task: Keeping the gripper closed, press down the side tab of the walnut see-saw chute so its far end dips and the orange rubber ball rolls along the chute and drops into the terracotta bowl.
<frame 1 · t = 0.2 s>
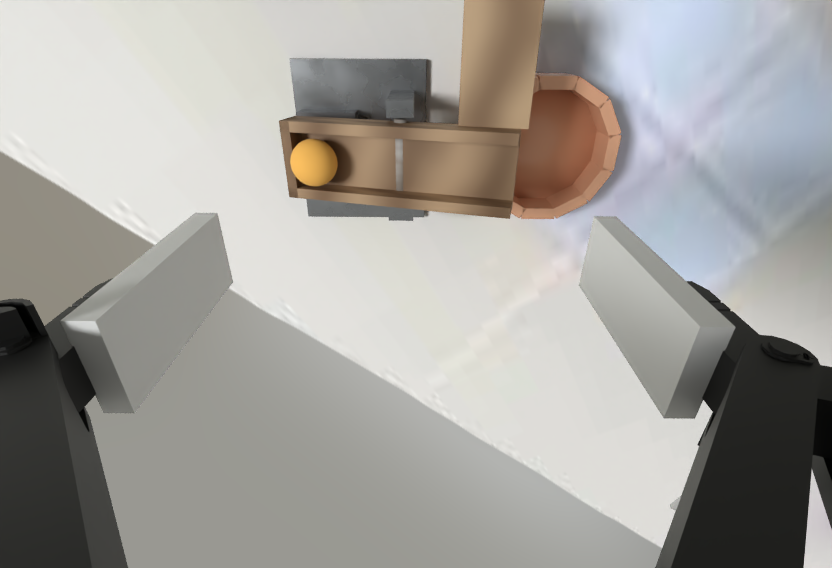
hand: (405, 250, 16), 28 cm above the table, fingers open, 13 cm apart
pivot base: (403, 143, 41), on the table
lever: (402, 102, 32), point 7 cm above the table, hinge at -15.0°, touching ball
terracotta bowl: (537, 144, 41), on the table
ball: (314, 162, 34), point 7 cm above the table, tilted 30°, touching lever
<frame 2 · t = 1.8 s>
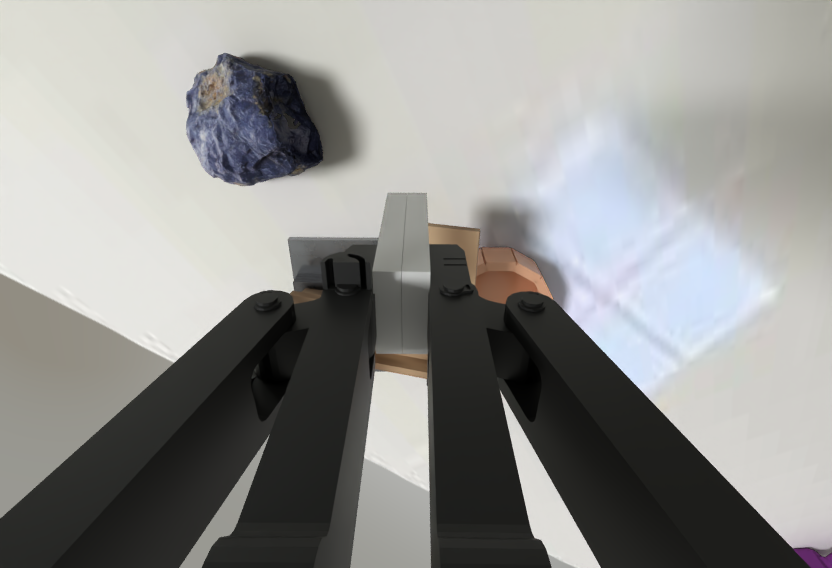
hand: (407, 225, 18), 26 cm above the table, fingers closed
pivot base: (381, 294, 50), on the table
lever: (376, 294, 42), point 7 cm above the table, hinge at -15.0°, touching ball
mug: (809, 551, 76), on the table
terracotta bowl: (490, 295, 50), on the table
rock: (261, 117, 41), on the table
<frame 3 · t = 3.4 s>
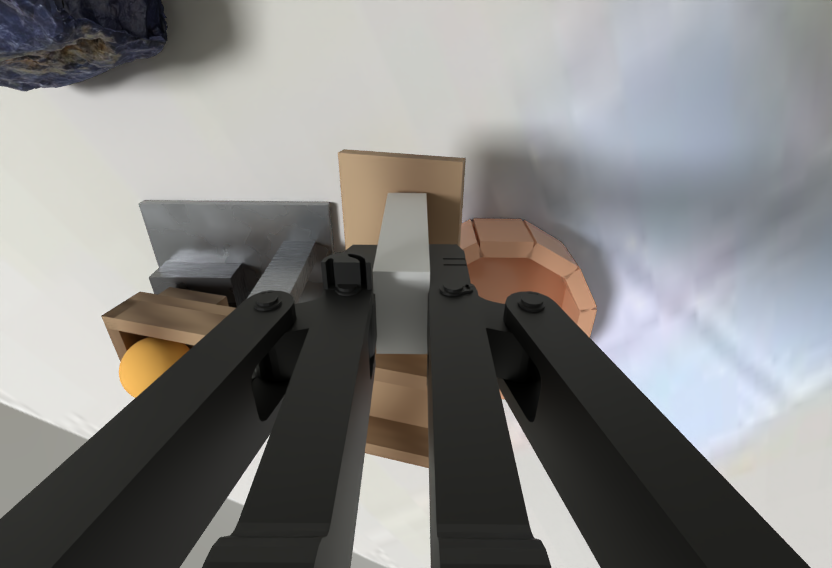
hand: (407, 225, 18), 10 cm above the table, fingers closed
pivot base: (309, 297, 31), on the table
lever: (274, 298, 22), point 7 cm above the table, hinge at -14.8°, touching gripper
terracotta bowl: (488, 299, 31), on the table
ball: (158, 368, 24), point 7 cm above the table, tilted 29°
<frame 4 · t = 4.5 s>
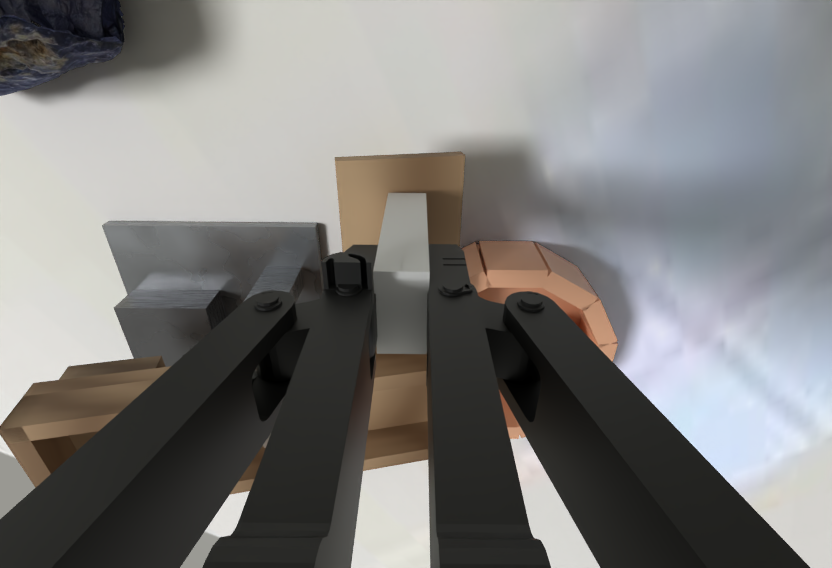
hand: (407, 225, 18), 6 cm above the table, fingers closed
pivot base: (297, 326, 28), on the table
lever: (252, 337, 19), point 7 cm above the table, hinge at 12.2°, touching gripper
terracotta bowl: (495, 328, 28), on the table
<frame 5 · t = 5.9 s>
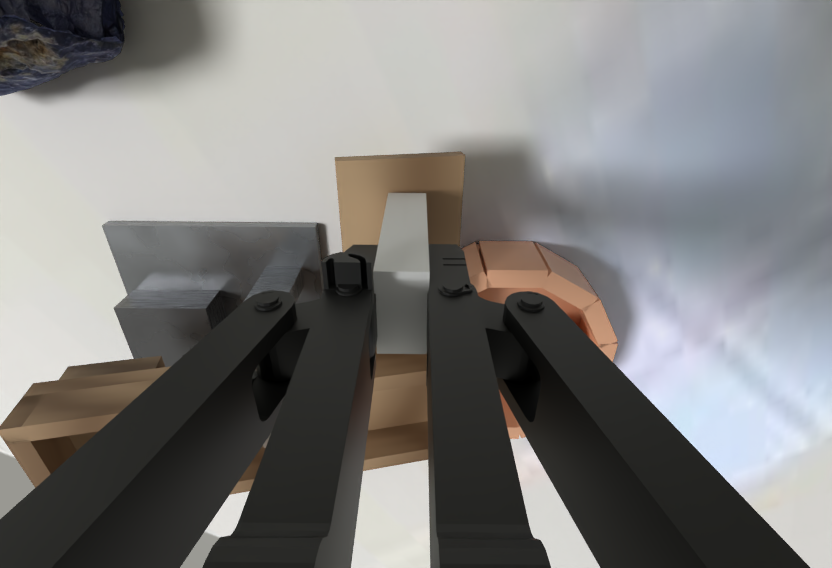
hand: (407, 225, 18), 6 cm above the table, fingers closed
pivot base: (297, 326, 28), on the table
lever: (252, 337, 19), point 7 cm above the table, hinge at 12.3°, touching gripper
terracotta bowl: (495, 328, 28), on the table
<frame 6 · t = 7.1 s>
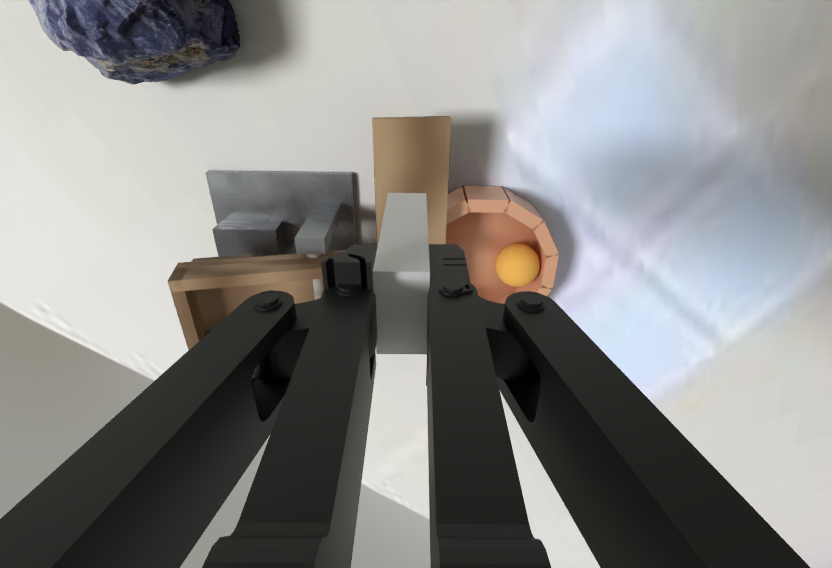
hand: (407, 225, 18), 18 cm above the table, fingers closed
pivot base: (334, 251, 39), on the table
lever: (315, 236, 30), point 7 cm above the table, hinge at 12.3°
terracotta bowl: (476, 252, 39), on the table
ball: (517, 265, 37), point 2 cm above the table, tilted 8°, touching terracotta bowl
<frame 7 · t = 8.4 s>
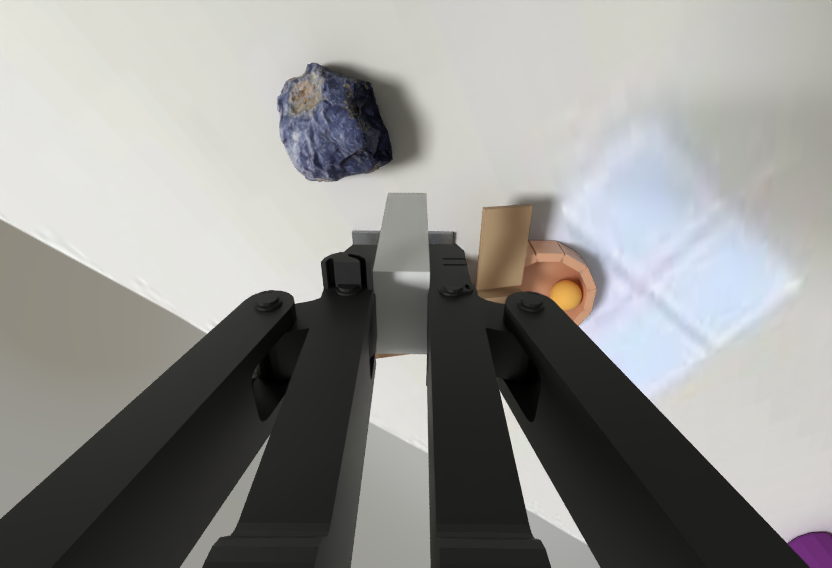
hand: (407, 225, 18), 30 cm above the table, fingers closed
pivot base: (433, 284, 54), on the table
lever: (439, 281, 46), point 7 cm above the table, hinge at 12.3°
mug: (824, 536, 80), on the table
terracotta bowl: (535, 285, 54), on the table
ball: (565, 295, 52), point 2 cm above the table, tilted 7°, touching terracotta bowl
rock: (335, 120, 45), on the table
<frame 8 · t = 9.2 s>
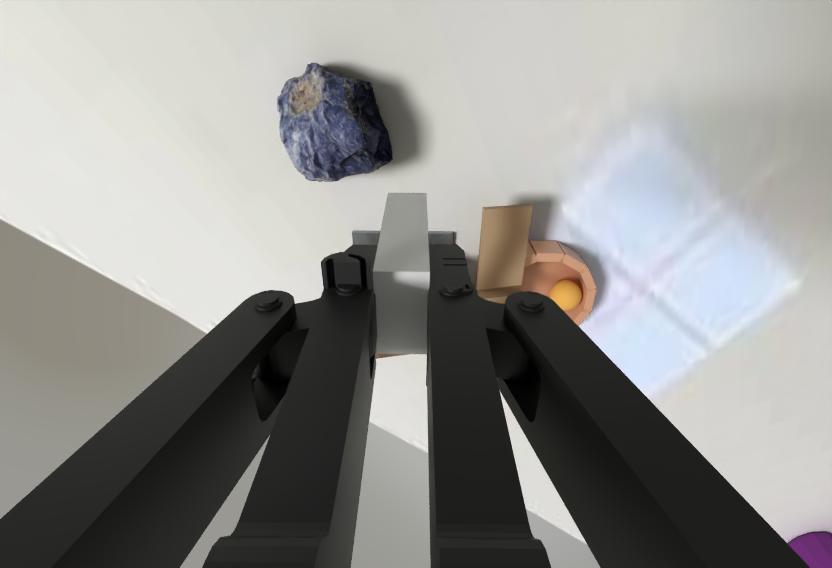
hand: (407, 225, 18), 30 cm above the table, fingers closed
pivot base: (433, 284, 54), on the table
lever: (439, 281, 46), point 7 cm above the table, hinge at 12.3°
mug: (824, 535, 80), on the table
terracotta bowl: (535, 285, 54), on the table
ball: (565, 295, 52), point 2 cm above the table, tilted 6°, touching terracotta bowl
rock: (335, 120, 45), on the table
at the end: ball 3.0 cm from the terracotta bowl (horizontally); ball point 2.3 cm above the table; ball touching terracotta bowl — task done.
